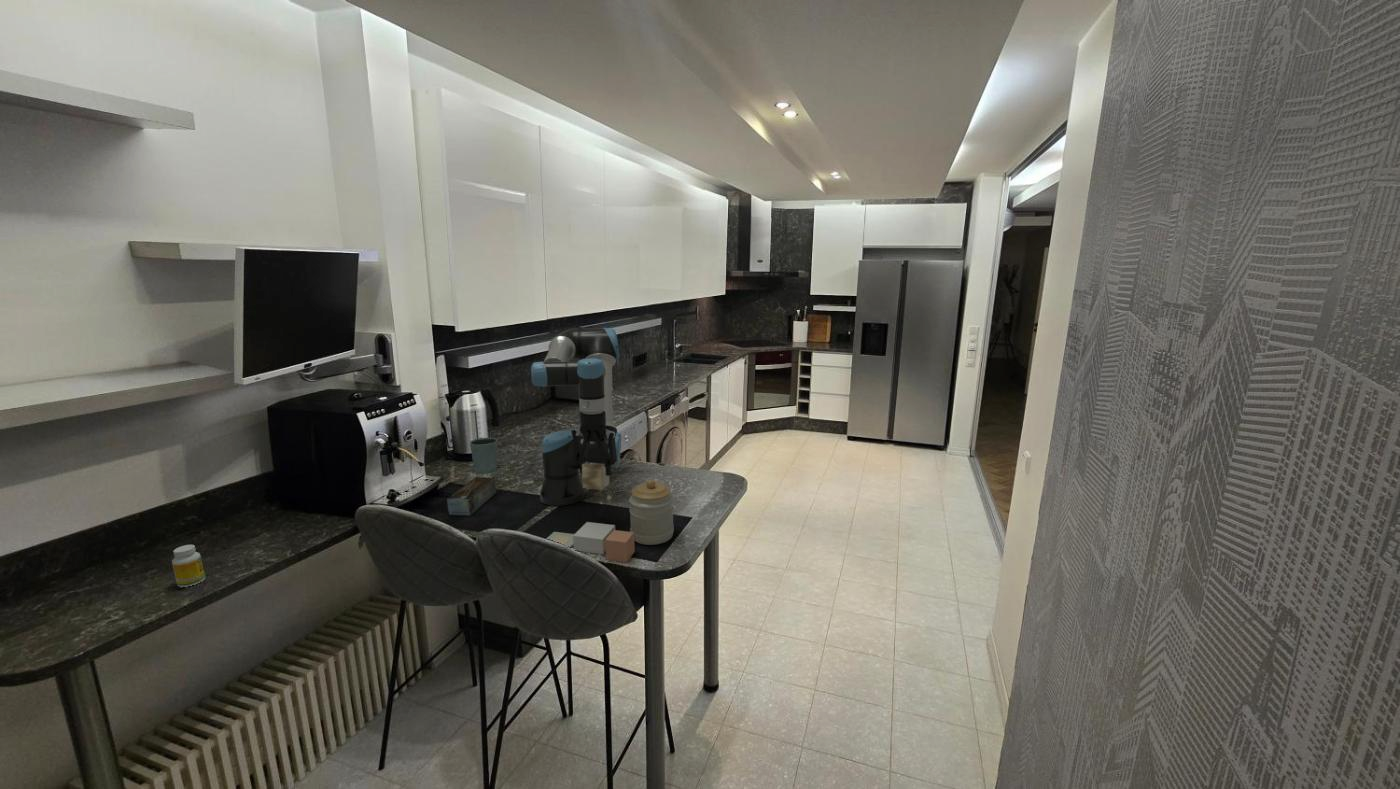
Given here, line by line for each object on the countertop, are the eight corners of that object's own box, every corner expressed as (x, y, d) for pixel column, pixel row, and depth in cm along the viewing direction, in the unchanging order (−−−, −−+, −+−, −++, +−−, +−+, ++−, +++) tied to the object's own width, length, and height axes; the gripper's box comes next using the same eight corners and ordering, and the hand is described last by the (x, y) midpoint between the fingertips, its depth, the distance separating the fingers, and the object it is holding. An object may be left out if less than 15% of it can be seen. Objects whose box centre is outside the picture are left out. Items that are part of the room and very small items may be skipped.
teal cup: (467, 472, 217) (464, 443, 215) (483, 464, 227) (481, 436, 224) (488, 475, 215) (486, 445, 212) (505, 466, 224) (502, 438, 221)
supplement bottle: (176, 582, 141) (168, 548, 139) (204, 574, 145) (196, 540, 143) (178, 590, 138) (170, 555, 136) (207, 582, 142) (199, 547, 139)
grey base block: (573, 550, 157) (572, 535, 156) (587, 535, 165) (586, 522, 164) (603, 554, 155) (602, 539, 154) (615, 539, 163) (615, 525, 162)
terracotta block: (606, 559, 152) (605, 539, 150) (614, 549, 157) (614, 530, 156) (626, 562, 150) (626, 542, 149) (634, 551, 156) (634, 532, 155)
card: (538, 547, 158) (538, 545, 158) (554, 533, 167) (554, 531, 167) (567, 551, 156) (567, 549, 156) (581, 536, 165) (581, 534, 164)
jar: (621, 538, 163) (619, 482, 160) (647, 522, 174) (646, 469, 170) (657, 550, 157) (655, 491, 153) (682, 531, 168) (681, 477, 164)
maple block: (582, 487, 167) (581, 469, 166) (591, 480, 173) (590, 462, 172) (601, 489, 166) (600, 471, 165) (609, 482, 172) (608, 464, 170)
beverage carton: (447, 515, 180) (445, 496, 178) (476, 492, 199) (474, 475, 197) (470, 516, 179) (468, 497, 178) (497, 493, 198) (496, 476, 196)
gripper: (557, 412, 163) (562, 485, 168) (617, 416, 158) (620, 491, 164) (569, 406, 170) (573, 476, 175) (627, 409, 166) (629, 482, 171)
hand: (596, 483), depth 170 cm, fingers closed on maple block, 6 cm apart
